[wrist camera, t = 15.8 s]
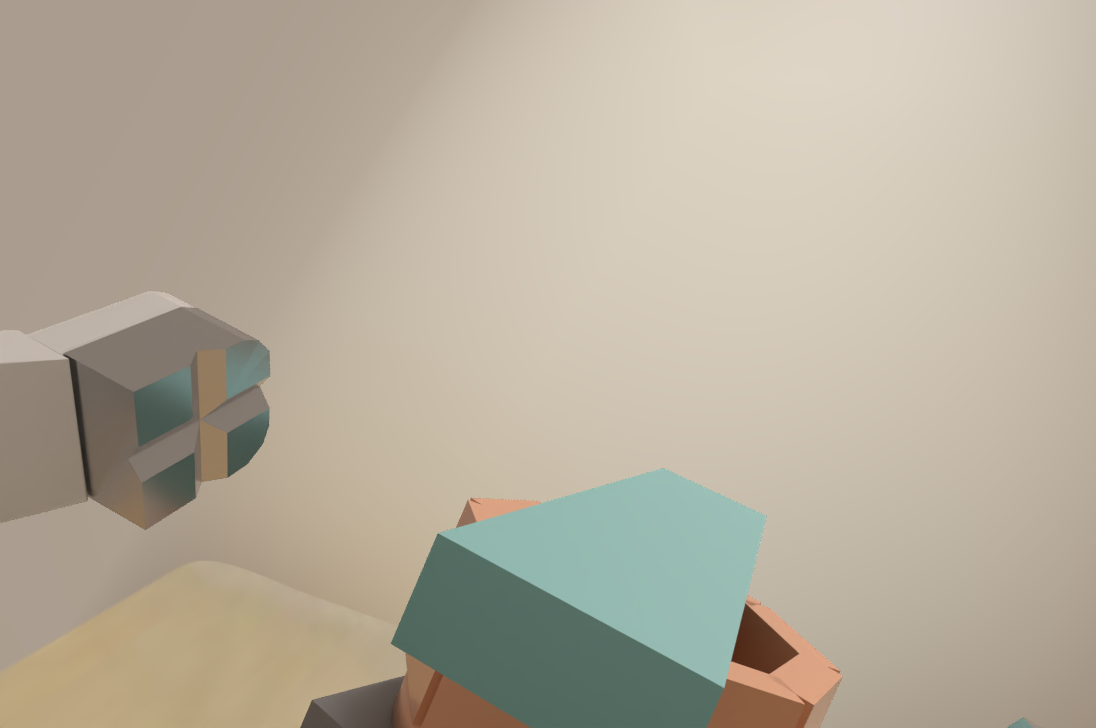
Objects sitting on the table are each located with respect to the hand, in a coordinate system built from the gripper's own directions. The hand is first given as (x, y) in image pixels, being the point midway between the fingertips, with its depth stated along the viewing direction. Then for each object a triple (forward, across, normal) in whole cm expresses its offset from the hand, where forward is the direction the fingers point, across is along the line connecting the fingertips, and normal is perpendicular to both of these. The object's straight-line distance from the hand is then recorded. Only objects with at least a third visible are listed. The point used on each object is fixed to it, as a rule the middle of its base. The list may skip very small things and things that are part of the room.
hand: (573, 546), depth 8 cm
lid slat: (+9, 0, +8) cm, 12 cm away
